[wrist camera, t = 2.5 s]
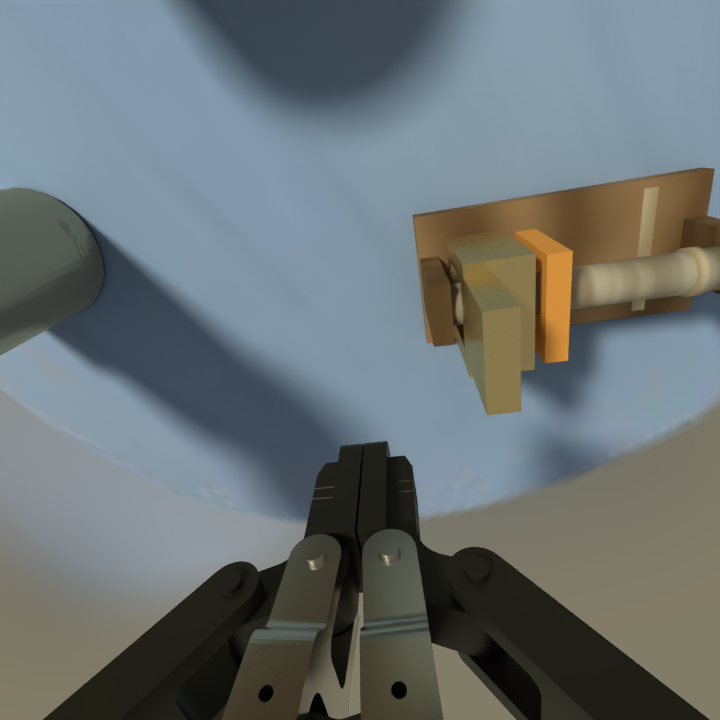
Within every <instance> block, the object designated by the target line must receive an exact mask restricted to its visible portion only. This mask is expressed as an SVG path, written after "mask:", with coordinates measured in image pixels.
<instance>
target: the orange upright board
mask: <svg viewBox="0 0 720 720" xmlns="http://www.w3.org/2000/svg"><path fill="white" fill-rule="evenodd" d="M515 238H516V239H517V240H518V241H520V242H521V243H522V244H524V245H525V246H526V247H528V248H529V249H530V250H532V251H533V252H534V253H535V254H536V272H540V314H535V350H536V351H537V353H538V354H539V356H540V357H541V358H542V360H543V361H544V363H553V362H562V361H568V348H569V326H570V304H571V282H572V260H573V251H572V250H570V249H568V248H567V247H565V246H563V245H562V244H560V243H558V242H557V241H555V240H553V239H551V238H550V237H548V236H546V235H545V234H543V233H541V232H540V231H538V230H536V229H532V230H525V231H519V232H515ZM540 270H541V271H540Z"/></svg>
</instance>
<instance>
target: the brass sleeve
mask: <svg viewBox="0 0 720 720" xmlns="http://www.w3.org/2000/svg"><path fill="white" fill-rule="evenodd" d="M447 251H448V263H449V276H450V284H457V283H461V297H462V312H463V324H459V325H453V326H454V334H455V337H456V340H457V342H458V345H459V348H460V351H461V354H462V357H463V359H464V362H465V365H466V368H467V371H468V374H469V376H470V377H473V378H474V381H475V384H476V386H477V389H478V392H479V395H480V397H481V400H482V403H483V406H484V408H485V411H486V414H487V415H493V414H502V413H512V412H521V371H528V370H535V289H536V254H535V253H534V252H533V251H532V250H530V249H529V248H528V247H526V246H525V245H524V244H522V243H521V242H520V241H518V240H517V239H516V238H514V237H513V236H512V235H510V234H509V233H508V232H506V231H505V230H499V231H493V232H486V233H480V234H474V235H467V236H461V237H455V238H448V239H447Z"/></svg>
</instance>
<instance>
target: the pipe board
mask: <svg viewBox="0 0 720 720" xmlns="http://www.w3.org/2000/svg"><path fill="white" fill-rule="evenodd" d="M713 175H714V169H711V168H697V169H691V170H685V171H678V172H672V173H666V174H660V175H654V176H648V177H642V178H636V179H630V180H624V181H618V182H612V183H606V184H600V185H593V186H587V187H581V188H575V189H569V190H563V191H557V192H551V193H545V194H539V195H533V196H527V197H521V198H515V199H508V200H502V201H496V202H490V203H484V204H478V205H472V206H466V207H460V208H454V209H448V210H442V211H436V212H430V213H423V214H417V215H413V220H414V230H415V239H416V248H417V257H418V266H419V275H420V284H421V293H422V302H423V311H424V321H425V330H426V338H427V343H433V344H434V347H435V346H443V345H451V344H455V340H456V337H455V334H454V326H453V325H459V324H463V312H462V297H461V283H457V284H450V276H449V263H448V251H447V239H448V238H455V237H461V236H467V235H474V234H480V233H486V232H493V231H499V230H505V231H506V232H508V233H509V234H510V235H512V236H513V237H514V238H515V232H519V231H525V230H532V229H536V230H538V231H540V232H541V233H543V234H545V235H546V236H548V237H550V238H551V239H553V240H555V241H557V242H558V243H560V244H562V245H563V246H565V247H567V248H568V249H570V250H572V251H573V260H572V282H571V304H570V325H574V324H581V323H589V322H597V321H605V320H613V319H620V318H628V317H636V316H644V315H651V314H659V313H667V312H675V311H682V310H690V308H691V303H692V297H693V296H698V295H701V294H702V293H704V292H707V291H713V292H716V293H718V294H720V219H718V218H713V217H709V216H707V210H708V204H709V198H710V192H711V187H712V181H713ZM540 271H541V270H540ZM535 314H540V272H536V289H535Z"/></svg>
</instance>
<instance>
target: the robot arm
mask: <svg viewBox="0 0 720 720" xmlns="http://www.w3.org/2000/svg"><path fill="white" fill-rule="evenodd" d="M103 276H104V268H103V259H102V256H101V253H100V250H99V247H98V244H97V243H96V241H95V239H94V237H93V235H92V233H91V232H90V230H89V229H88V228H87V226H86V225H85V224H84V222H83V221H82V220H81V219H80V218H79V217H78V216H77V215H76V214H75V213H74V212H73V211H72V210H71V209H70V208H68V207H67V206H66V205H64V204H63V203H61V202H60V201H58V200H57V199H55V198H53V197H51V196H49V195H47V194H44V193H42V192H39V191H35V190H31V189H24V188H11V189H3V190H0V355H2V354H4V353H6V352H7V351H9V350H11V349H13V348H15V347H17V346H18V345H20V344H22V343H24V342H26V341H27V340H29V339H31V338H33V337H35V336H36V335H38V334H40V333H42V332H44V331H45V330H47V329H49V328H51V327H53V326H55V325H57V324H58V323H60V322H62V321H64V320H66V319H67V318H69V317H71V316H73V315H75V314H76V313H78V312H80V311H82V310H84V309H85V308H86V307H88V306H89V305H90V304H92V303H93V301H94V300H95V299H96V297H97V296H98V295H99V292H100V290H101V287H102V284H103ZM362 592H363V610H364V626H363V628H361V630H360V691H361V692H360V697H361V713H359V714H356V715H353V716H350V717H349V690H350V682H351V676H352V669H353V661H354V654H355V647H356V640H357V632H358V626H359V615H358V601H359V593H362ZM432 643H434V644H437V645H440V646H443V647H447V648H450V649H452V650H456V651H458V654H459V656H460V657H461V659H462V660H463V661H464V663H465V664H466V665H467V666H468V667H469V668H470V669H471V670H472V671H473V672H474V673H475V675H477V677H478V678H479V679H480V680H481V681H482V682H483V683H484V684H485V686H486V687H487V688H488V689H489V690H490V691H491V692H492V693H493V694H494V695H495V697H496V698H497V699H498V700H499V701H500V702H501V703H502V704H503V705H504V706H505V707H506V709H507V710H508V711H509V712H510V713H511V714H512V715H513V716H514V717H515V718H516V720H709V719H708V718H707V717H706V716H704V715H703V714H702V713H700V712H699V711H698V710H697V709H695V708H694V707H693V706H691V705H690V704H689V703H687V702H686V701H685V700H684V699H682V698H681V697H680V696H678V695H677V694H676V693H674V692H673V691H672V690H671V689H669V688H668V687H667V686H666V685H664V684H663V683H662V682H660V681H659V680H658V679H657V678H655V677H654V676H653V675H651V674H650V673H649V672H648V671H646V670H645V669H644V668H642V667H641V666H640V665H639V664H637V663H636V662H635V661H633V660H632V659H631V658H630V657H628V656H627V655H626V654H624V653H623V652H622V651H620V650H619V649H618V648H617V647H615V646H614V645H613V644H612V643H610V642H609V641H608V640H606V639H605V638H604V637H603V636H601V635H600V634H599V633H597V632H596V631H595V630H593V629H592V628H591V627H589V626H588V625H587V624H586V623H585V622H583V621H582V620H581V619H579V618H578V617H577V616H576V615H574V614H573V613H572V612H570V611H569V610H568V609H567V608H565V607H564V606H563V605H561V604H560V603H559V602H558V601H556V600H555V599H554V598H552V597H551V596H550V595H549V594H547V593H546V592H545V591H543V590H542V589H541V588H540V587H538V586H537V585H535V584H534V583H533V582H532V581H531V580H529V579H528V578H526V577H525V576H524V575H523V574H522V573H520V572H519V571H517V570H516V569H515V568H514V567H513V566H511V565H510V564H509V563H507V562H506V561H505V560H503V559H502V558H501V557H499V556H498V555H497V554H495V553H494V552H492V551H490V550H488V549H485V548H480V547H469V548H465V549H462V550H460V551H458V552H457V553H455V554H454V555H453V556H452V557H451V556H447V555H443V554H439V553H436V552H434V551H432V550H430V549H428V548H427V547H426V546H425V545H424V544H423V543H422V542H421V541H420V530H419V516H418V502H417V495H416V489H415V482H414V475H413V468H412V465H411V464H410V462H409V461H408V460H407V458H406V457H405V456H396V457H390V452H389V446H388V442H387V441H384V442H374V443H365V445H364V444H355V445H345V446H341V448H340V453H339V459H338V462H334V463H326V464H325V466H324V467H323V468H322V470H321V471H320V472H319V474H318V476H317V480H316V485H315V490H314V494H313V500H312V504H311V508H310V513H309V517H308V522H307V527H306V532H305V536H304V539H303V540H302V541H300V542H299V543H298V544H297V545H296V546H295V547H294V548H293V550H292V551H291V554H290V556H289V559H288V560H287V561H285V562H283V563H281V564H279V565H276V566H273V567H271V568H268V569H265V570H262V571H260V572H258V571H257V569H256V567H255V566H254V565H252V564H251V563H248V562H234V563H231V564H228V565H226V566H224V567H223V568H221V569H220V570H218V571H217V572H216V573H215V574H214V575H212V576H211V577H210V578H209V579H208V580H207V581H205V582H204V583H203V584H202V585H201V586H200V587H198V588H197V589H196V590H195V591H194V592H193V593H191V594H190V595H189V596H188V597H187V598H185V599H184V600H183V601H182V602H181V603H179V604H178V605H177V606H176V607H175V608H174V609H172V610H171V611H170V612H169V613H168V614H167V615H166V616H164V617H163V618H162V619H161V620H160V621H158V622H157V623H156V624H155V625H154V626H152V628H150V629H149V630H148V631H147V632H145V633H144V634H143V635H142V636H141V637H140V638H138V639H137V640H136V641H135V642H134V643H132V644H131V645H130V646H129V647H128V648H127V649H126V650H124V651H123V652H122V653H121V654H120V655H119V656H117V657H116V658H115V659H114V660H112V661H111V662H110V663H109V664H108V665H107V666H105V667H104V668H103V669H102V670H101V671H100V672H99V673H97V674H96V675H95V676H94V677H92V678H91V679H90V680H89V681H88V682H87V683H85V684H84V685H83V686H82V687H81V688H80V689H78V690H77V691H76V692H75V693H74V694H73V695H71V696H70V697H69V698H68V699H67V700H66V701H64V702H63V703H62V704H61V705H60V706H58V707H57V708H56V709H55V710H54V711H53V712H52V713H50V714H49V715H48V716H47V717H45V718H44V719H43V720H444V719H443V713H442V707H441V700H440V694H439V688H438V681H437V675H436V669H435V662H434V656H433V650H432ZM211 654H212V655H211ZM210 655H211V656H210ZM209 656H210V657H209ZM208 657H209V658H208ZM207 658H208V659H207ZM206 659H207V660H206Z"/></svg>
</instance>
